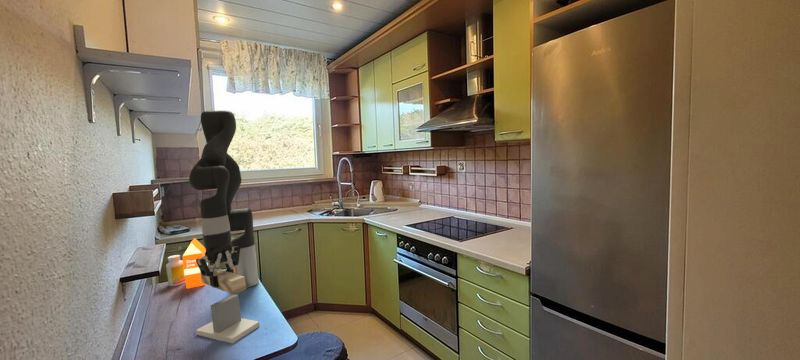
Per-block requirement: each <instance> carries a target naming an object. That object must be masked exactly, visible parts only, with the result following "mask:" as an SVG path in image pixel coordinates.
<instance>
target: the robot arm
mask: <svg viewBox="0 0 800 360" xmlns="http://www.w3.org/2000/svg"><path fill="white" fill-rule="evenodd" d="M200 124H201V128H202V131H203V136H204V138H205V142H206V143H205V145H204V146H203V149H202V153H201V157H200V159H198V161H197V162H196V163H195V164H194V166H193V167H192V169H191V170H190V172H189V178H188V182H189V184H190V186H191V188H193V189H194V190H197V191H208V190H216V193H215V194H214V195H212V196H208V197H204V198H202V199H201V200H200V201H199V207H200V215H201V232H202V240H203V246H204V247H205V249H206V252H205V256H203V257H202V258H197V259H196V263H197V265H198V267H199V269H200V271H201V274H202V275H203V276H209V278H210V285H211V286H210V287H212V288H214V289H217V287H219V284H218V275H217V270H218V268H219V269H220V265H221V263H222V264H223V265H224V267H225V271H228V272H232V273H235V274H238V275H241V276H244V277H245V284H246V289H247V288H248V289H249V288H252V287H254V286H256V285H258V284H259V282H260V280H259V271H258V270H259V269H258V262H257V252H256V245H255V244H256V243H255V234H254V232H255V231H254V220H253V219H254V216H253V212H252V209H250V208H247V207H246V208H234V209H232V204H233V200H234V198H235V195H236V194H237V192H238V190H239V188H241V187H240V186H241V185H242V174H241V169H240V165H239V164H238V162H237V161H236V160H235V159H234V158H233V157H232V156H231V155H230V154H229V153H228V151H229V147H230V145H231V143H232V141H233V138H234V136H235V134H236V131H237V121H236V118H235V114H234V113H233V112H232V111H231V110H204V111H202V112H201V114H200ZM238 231H239V232H241V231H244V233H243V234H241V235H240V236H239V237H236V238H234V239H232V234H231V233H232V232H238ZM207 262H208V265H207Z"/></svg>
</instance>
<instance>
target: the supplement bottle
mask: <svg viewBox="0 0 800 360" xmlns="http://www.w3.org/2000/svg"><path fill="white" fill-rule="evenodd" d="M167 261H168V263H166V264H165V268H166V275H167V283H168V286H169V287H176V286H180V285H183V284H186V281H185V275H184V266H183V259H182V260H181V255H180V254H174V255H169V256H168V257H167Z"/></svg>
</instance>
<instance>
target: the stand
mask: <svg viewBox="0 0 800 360" xmlns="http://www.w3.org/2000/svg"><path fill="white" fill-rule="evenodd" d="M210 312H211V320H212V321H211V322H210V321H209V322H208V323H207V324H205V325H202V326H201V327H200V328H198V329H195V331H196V335H197V336H200V337H201V336H202V337H205V338H209V339H213V340H216V341H221V342H225V343H227V344H232V345H233V344H235V343H236V342H238V341H239V340H240V339H242V338H243V337H246V336H247V335H248V334H250V333H251V332H253V331H254V330H256V329H257V328H258V327H260V321H257V320H253V319H252V320H251V319H248V318H242V317H241V316H242V313H241V307H240V298H239V294H231V295H229V296H226V297H225V298H223V299H220V300H219V301H216V302H215V303H213V304H210Z"/></svg>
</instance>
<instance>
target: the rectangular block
mask: <svg viewBox="0 0 800 360" xmlns="http://www.w3.org/2000/svg"><path fill="white" fill-rule="evenodd" d="M200 273H201V271H200ZM217 275H218V284H219V287H217V288H216V289H217V290H220V291H223V292H225V293H228V294H231V295H233V294H234V295H237V294H238V293H240V292H243V291H245V290H247V288H246V284H245V277H244V276H241V275H238V274H235V273H232V272H228V271H226V269H225V270H224V269H222V268H220V267H219V268H218V270H217ZM201 281H202V283H204V284H206V286H209V287H212V286H211V285H210V278H209V276H203V275H202V274H201Z"/></svg>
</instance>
